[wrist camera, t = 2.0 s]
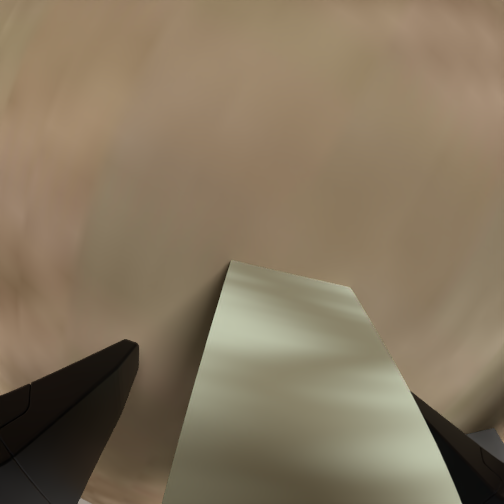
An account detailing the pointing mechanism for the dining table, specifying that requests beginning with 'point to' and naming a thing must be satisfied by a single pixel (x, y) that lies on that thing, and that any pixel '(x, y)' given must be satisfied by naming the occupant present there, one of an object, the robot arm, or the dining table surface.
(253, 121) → the dining table surface
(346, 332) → the sage block
